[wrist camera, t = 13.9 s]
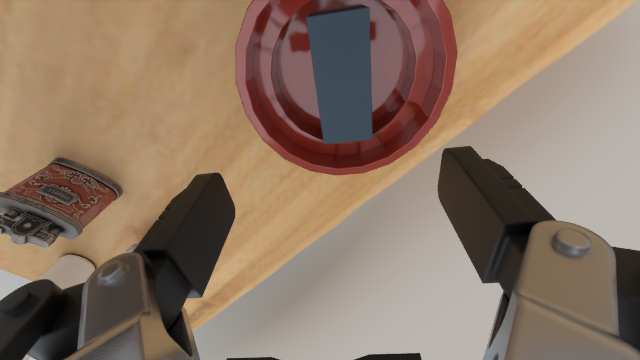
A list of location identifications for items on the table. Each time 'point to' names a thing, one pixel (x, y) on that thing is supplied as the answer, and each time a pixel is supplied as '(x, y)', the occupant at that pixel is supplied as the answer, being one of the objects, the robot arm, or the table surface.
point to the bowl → (386, 80)
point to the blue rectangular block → (342, 72)
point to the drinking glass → (68, 273)
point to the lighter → (55, 203)
